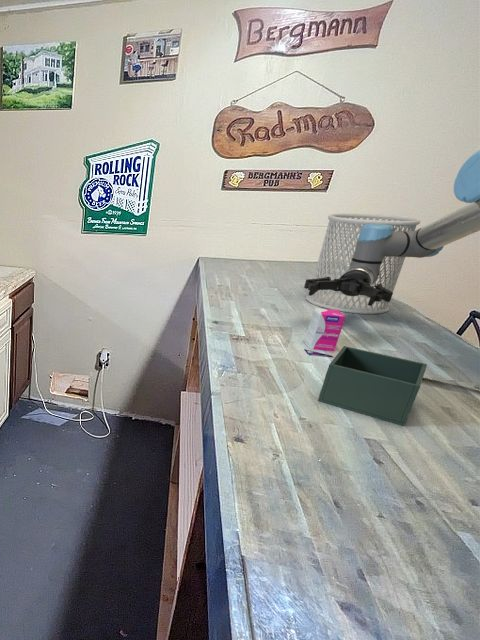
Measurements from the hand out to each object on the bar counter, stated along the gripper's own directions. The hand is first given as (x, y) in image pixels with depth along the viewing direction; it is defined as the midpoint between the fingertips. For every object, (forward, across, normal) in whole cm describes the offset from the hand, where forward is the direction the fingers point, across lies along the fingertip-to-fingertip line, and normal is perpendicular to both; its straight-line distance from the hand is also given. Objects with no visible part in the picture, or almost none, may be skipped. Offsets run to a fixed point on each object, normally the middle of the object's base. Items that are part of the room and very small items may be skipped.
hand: (340, 295), depth 123 cm
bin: (+34, -14, -14) cm, 39 cm away
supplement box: (+10, 0, -14) cm, 17 cm away
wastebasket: (-50, +4, -14) cm, 52 cm away
